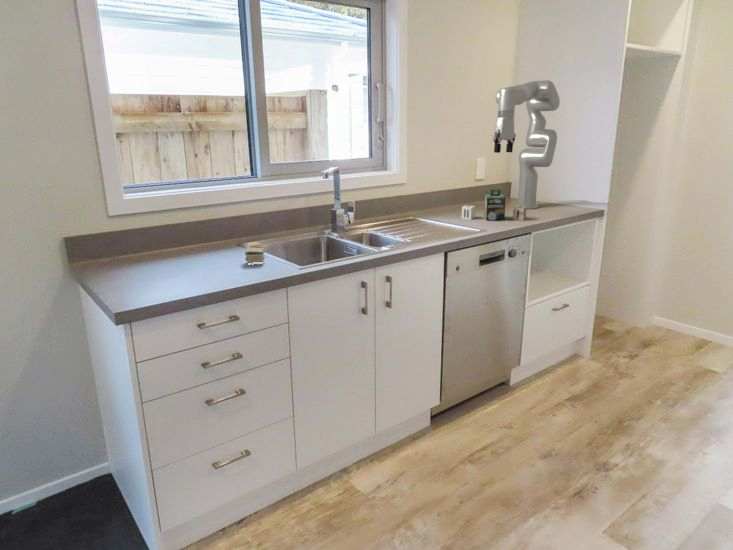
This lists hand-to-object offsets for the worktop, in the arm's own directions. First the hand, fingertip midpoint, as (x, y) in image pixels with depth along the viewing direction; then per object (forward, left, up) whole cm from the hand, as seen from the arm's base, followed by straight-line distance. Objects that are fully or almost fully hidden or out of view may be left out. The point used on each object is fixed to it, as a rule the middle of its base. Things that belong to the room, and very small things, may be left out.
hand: (503, 152), depth 250 cm
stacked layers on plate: (+123, -47, -32) cm, 136 cm away
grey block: (+9, -13, -32) cm, 36 cm away
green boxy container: (+5, -1, -32) cm, 32 cm away
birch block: (0, +10, -32) cm, 33 cm away
